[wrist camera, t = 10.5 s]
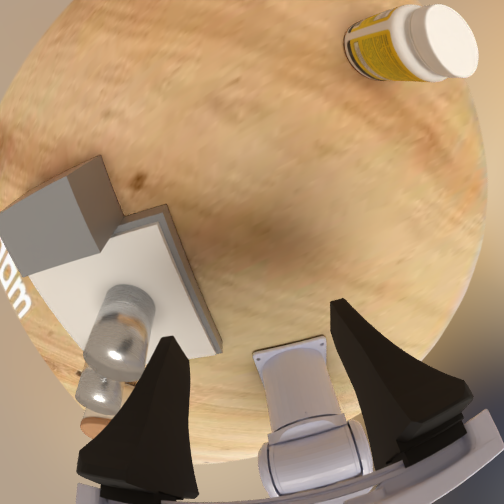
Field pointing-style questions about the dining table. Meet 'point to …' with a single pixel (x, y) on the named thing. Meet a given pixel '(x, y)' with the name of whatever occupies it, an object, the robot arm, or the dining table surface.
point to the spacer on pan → (99, 392)
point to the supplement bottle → (413, 45)
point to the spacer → (121, 334)
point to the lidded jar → (101, 416)
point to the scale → (105, 258)
